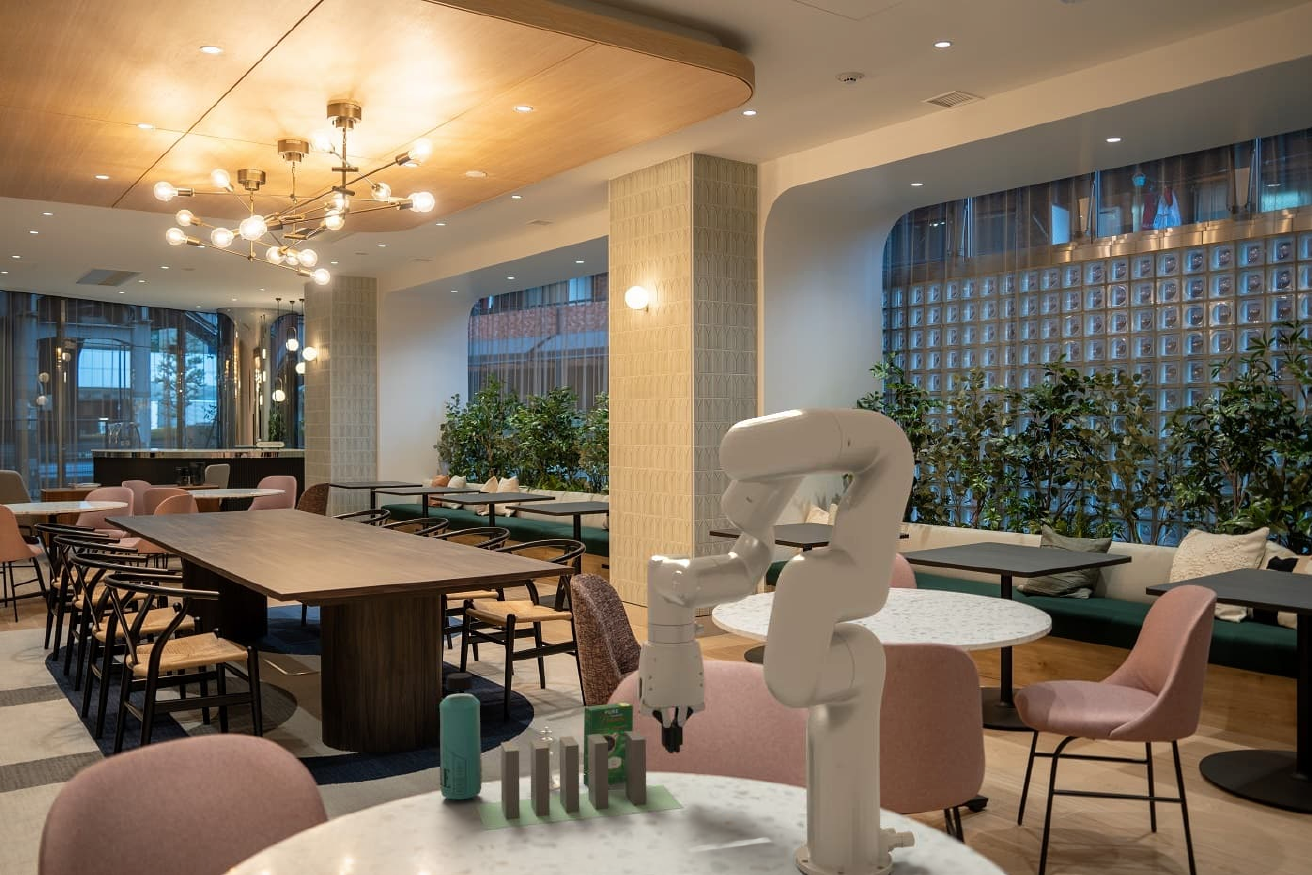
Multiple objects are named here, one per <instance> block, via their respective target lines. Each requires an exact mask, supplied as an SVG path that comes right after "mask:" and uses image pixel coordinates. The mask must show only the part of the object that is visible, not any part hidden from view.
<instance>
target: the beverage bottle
mask: <svg viewBox="0 0 1312 875" xmlns="http://www.w3.org/2000/svg"><path fill="white" fill-rule="evenodd" d="M445 683H446V684H445V690H448V691H450V692H453V691H454V692H459V691H460V692H461V691H468V690H472V689H473V687H474V686H473V685H474V683H473V676H472V674H471V673H464V672H460V673H459V672H458V673H456V672H455V673H451V674H448V675H447V676H446V682H445ZM480 706H481V702H480V700H479V698H477V697H476V696H475V695H474V694H471V693H453V694H449V695H447V696H446V697H445V698H443V700H442V701H440V703H439V718H440V719H439V720H440V723H439V724H440V727H439V733H440V734H439V735H438V737H439V740H440V741H439V742H440V743H439V744H440V748H439V749H440V752H439V754H440V756H439V759H440V763H439V765H440V766H439V781H440V782H439V787H440V790H439V791H440V792H441V795H442V796H443V797H444V798H446V799H450V800H451V799H452V800H464V799H470V798H473V797H476V796H478V795H479V794H480V793H481V790H482V786H483V783H482V780H483V769H482V768H483V767H482V766H483V765H482V762H483V761H482V747H481V745H482V743H481V722H480V721H481V717H480V716H481V715H480V712H481V711H480V708H481V707H480Z"/></svg>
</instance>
